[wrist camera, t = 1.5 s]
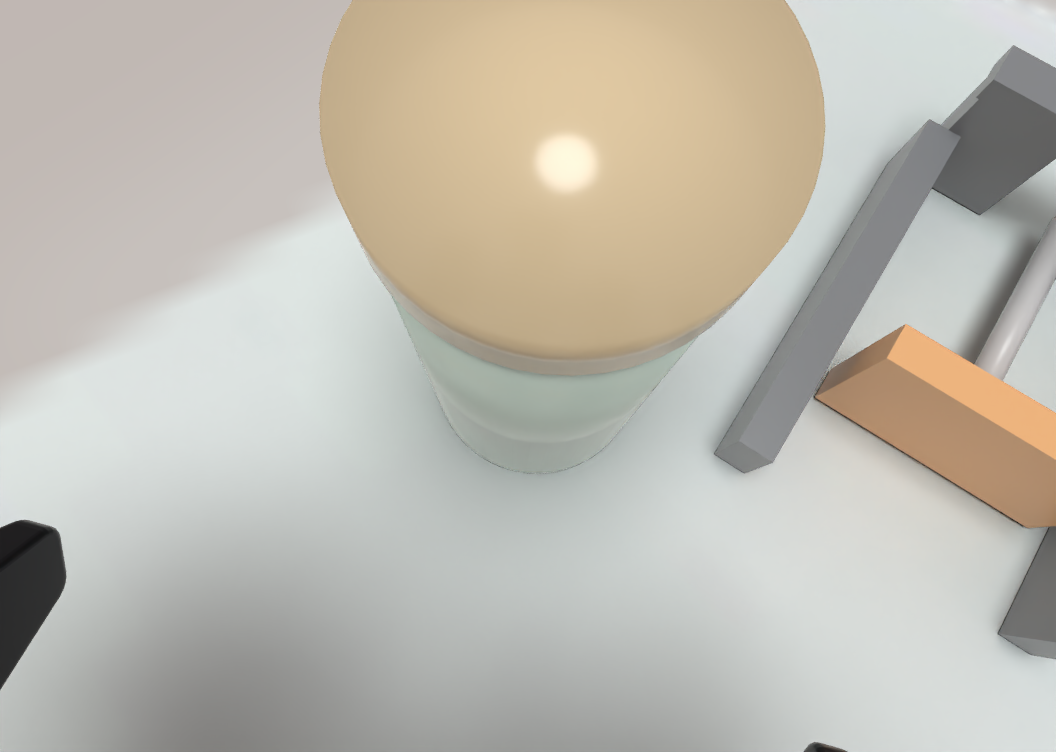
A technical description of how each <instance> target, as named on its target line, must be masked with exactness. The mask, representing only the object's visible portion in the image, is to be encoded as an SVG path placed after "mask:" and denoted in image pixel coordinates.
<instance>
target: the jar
mask: <svg viewBox="0 0 1056 752" xmlns="http://www.w3.org/2000/svg"><path fill="white" fill-rule="evenodd" d="M320 94H321V95H320V102H319V106H320V107H319V108H320V134H321V140H322V145H323V151H324V156H325V162H326V165H327V168H328V171H329V174H330V177H331V180H332V183H333V186H334V189H335V192H336V194H337V196H338V199H339V201H340V203H341V205H342V207H343V209H344V211H345V213H346V215H347V218H348V220H349V222H350V224H351V226H352V228H353V230H354V232H355V234H356V236H357V239H358V241H359V243H360V245H361V247H362V249H363V251H364V253H365V255H366V257H367V259H368V261H369V263H370V265H371V266H372V268H373V270H374V271H375V273H376V274H377V276H378V277H379V279H380V280H381V281H382V283H383V284H384V286H385V287H386V289H387V290H388V291H389V293H390V294H391V295H392V298H393V300H394V302H395V304H396V307H397V309H398V311H399V313H400V316H401V318H402V320H403V322H404V324H405V327H406V329H407V331H408V333H409V336H410V338H411V340H412V342H413V344H414V347H415V349H416V351H417V353H418V356H419V358H420V360H421V362H422V365H423V367H424V369H425V371H426V373H427V376H428V378H429V380H430V382H431V385H432V387H433V389H434V391H435V393H436V396H437V398H438V400H439V402H440V405H441V407H442V409H443V411H444V413H445V415H446V417H447V419H448V421H449V423H450V425H451V427H452V428H453V430H454V431H455V432H456V434H457V435H458V437H459V438H460V439H461V440H462V441H463V442H464V443H465V444H466V445H467V446H468V447H469V448H470V449H471V450H473V451H474V452H475V453H476V454H478V455H479V456H481V457H482V458H484V459H485V460H487V461H489V462H491V463H493V464H495V465H497V466H499V467H502V468H506V469H509V470H512V471H517V472H523V473H536V474H541V473H552V472H557V471H561V470H566V469H569V468H571V467H574V466H577V465H579V464H581V463H583V462H585V461H587V460H589V459H590V458H592V457H593V456H594V455H596V454H597V453H599V452H600V451H601V450H602V449H603V448H604V447H606V446H607V445H608V444H609V443H610V442H611V441H612V439H613V438H614V437H615V436H616V435H617V433H618V432H619V431H620V430H621V428H622V427H623V426H624V425H625V424H626V422H627V421H628V420H629V419H630V418H631V416H632V415H633V414H634V413H635V412H636V410H637V409H638V408H639V407H640V406H641V404H642V403H643V402H644V401H645V400H646V398H647V397H648V396H649V395H650V394H651V392H652V391H653V390H654V389H655V388H656V386H657V385H658V384H659V383H660V381H661V380H662V379H663V378H664V377H665V375H666V374H667V373H668V372H669V371H670V369H671V368H672V367H673V366H674V365H675V363H676V362H677V361H678V360H679V359H680V357H681V356H682V355H683V354H684V353H685V351H686V350H687V349H688V348H689V347H690V345H691V344H692V343H693V342H694V340H695V339H696V338H697V337H698V336H699V335H700V334H702V333H703V332H704V331H706V330H707V329H709V328H710V327H711V326H712V325H714V324H715V323H716V322H717V321H718V320H719V319H720V318H721V317H722V316H723V315H724V314H725V313H726V312H728V311H729V310H730V309H731V308H732V307H733V306H734V304H735V303H736V302H737V301H738V300H739V299H740V297H741V296H742V295H743V294H744V293H745V292H746V291H747V289H748V288H749V287H750V286H751V285H752V284H753V283H754V281H755V280H756V279H757V278H758V277H759V276H760V274H761V273H762V272H763V271H764V270H765V269H766V268H767V266H768V265H769V264H770V263H771V261H772V260H773V259H774V258H775V257H776V255H777V254H778V253H779V252H780V250H781V249H782V248H783V247H784V246H785V244H786V243H787V242H788V240H789V238H790V237H791V235H792V233H793V232H794V230H795V228H796V227H797V225H798V223H799V222H800V220H801V218H802V217H803V215H804V213H805V210H806V208H807V205H808V203H809V200H810V198H811V196H812V193H813V191H814V188H815V185H816V181H817V177H818V173H819V169H820V165H821V161H822V156H823V146H824V136H825V114H824V97H823V92H822V87H821V82H820V77H819V72H818V68H817V65H816V62H815V59H814V56H813V53H812V51H811V48H810V45H809V42H808V40H807V38H806V36H805V34H804V32H803V30H802V28H801V26H800V24H799V22H798V20H797V18H796V16H795V14H794V13H793V11H792V10H791V9H790V7H789V6H788V4H787V3H786V1H785V0H353V1H352V2H351V4H350V6H349V8H348V9H347V11H346V12H345V14H344V15H343V17H342V19H341V22H340V24H339V26H338V28H337V31H336V33H335V36H334V38H333V40H332V42H331V45H330V49H329V52H328V56H327V60H326V63H325V67H324V71H323V76H322V85H321V93H320Z"/></svg>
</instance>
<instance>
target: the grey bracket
mask: <svg viewBox="0 0 1056 752" xmlns="http://www.w3.org/2000/svg"><path fill="white" fill-rule="evenodd" d="M1055 159H1056V68H1055V67H1053V66H1051V65H1049V64H1047V63H1045V62H1044V61H1042V60H1040V59H1038V58H1036V57H1034V56H1033V55H1031V54H1029V53H1027V52H1025V51H1023V50H1021V49H1020V48H1018V47H1016V46H1014V45H1013V46H1012V47H1011V48H1010V49H1009V50H1008V51H1007V52H1006V53H1005V54H1004V55H1003V57H1002V58H1001V59H1000V60H999V61H998V62H997V63H996V64H995V65H994V67H993V68H992V70H991V72H990V74H989V75H988V77H987V78H986V79H985V80H984V81H983V82H982V83H981V84H980V85H979V86H978V87H977V88H976V89H975V90H974V91H973V92H972V93H971V94H970V95H969V97H968V98H967V99H966V100H965V101H964V102H963V103H962V104H961V105H960V106H959V107H958V108H957V109H956V110H955V111H954V112H953V113H952V114H951V115H950V116H949V117H948V118H947V119H946V120H945V121H944V122H943V123H942V124H941V125H939V124H937V123H935V122H934V121H932V120H930V119H929V120H928V121H927V122H926V123H925V124H924V125H923V126H922V128H921V129H920V130H919V131H918V132H917V133H916V134H915V135H914V136H913V137H912V138H911V139H910V140H909V141H908V142H907V143H906V144H905V146H904V147H903V148H902V149H901V150H900V151H899V152H898V153H897V154H896V155H895V156H894V157H893V158H892V159H891V160H890V161H889V162H888V164H887V166H886V167H885V169H884V171H883V172H882V174H881V176H880V177H879V179H878V181H877V182H876V184H875V186H874V187H873V189H872V191H871V192H870V194H869V196H868V197H867V199H866V201H865V202H864V204H863V206H862V208H861V209H860V211H859V213H858V214H857V216H856V218H855V219H854V221H853V223H852V224H851V226H850V228H849V229H848V231H847V233H846V234H845V236H844V238H843V239H842V241H841V243H840V244H839V246H838V248H837V249H836V251H835V253H834V254H833V256H832V258H831V259H830V261H829V263H828V264H827V266H826V268H825V269H824V271H823V273H822V274H821V276H820V278H819V279H818V281H817V283H816V284H815V286H814V288H813V289H812V291H811V293H810V294H809V296H808V298H807V300H806V301H805V303H804V305H803V306H802V308H801V310H800V311H799V313H798V315H797V316H796V318H795V320H794V321H793V323H792V325H791V326H790V328H789V330H788V331H787V333H786V335H785V336H784V338H783V340H782V341H781V343H780V345H779V346H778V348H777V350H776V351H775V353H774V355H773V356H772V358H771V360H770V361H769V363H768V365H767V366H766V368H765V370H764V371H763V373H762V375H761V376H760V378H759V380H758V381H757V383H756V385H755V386H754V388H753V390H752V392H751V393H750V395H749V397H748V398H747V400H746V402H745V403H744V405H743V407H742V408H741V410H740V412H739V413H738V415H737V417H736V418H735V420H734V422H733V423H732V425H731V427H730V428H729V430H728V432H727V433H726V435H725V437H724V438H723V440H722V442H721V443H720V445H719V447H718V448H717V450H716V452H715V453H714V454H715V455H716V456H718V457H719V458H721V459H723V460H724V461H726V462H727V463H729V464H730V465H732V466H734V467H735V468H737V469H738V470H740V471H742V472H743V473H747V472H749V471H752V470H754V469H757V468H760V467H762V466H765V465H768V464H770V463H773V461H774V460H775V458H776V456H777V454H778V453H779V451H780V449H781V447H782V446H783V444H784V442H785V441H786V439H787V437H788V435H789V434H790V432H791V430H792V428H793V427H794V425H795V423H796V422H797V420H798V418H799V416H800V415H801V413H802V411H803V409H804V408H805V406H806V404H807V403H808V401H809V399H810V397H811V396H812V394H813V392H814V390H815V389H816V387H817V385H818V383H819V382H820V380H821V378H822V377H823V375H824V373H825V371H826V370H827V368H828V366H829V364H830V363H831V361H832V359H833V358H834V356H835V354H836V352H837V351H838V349H839V347H840V345H841V344H842V342H843V340H844V339H845V337H846V335H847V333H848V332H849V330H850V328H851V326H852V325H853V323H854V321H855V319H856V318H857V316H858V314H859V313H860V311H861V309H862V307H863V306H864V304H865V302H866V300H867V299H868V297H869V295H870V294H871V292H872V290H873V288H874V287H875V285H876V283H877V281H878V280H879V278H880V276H881V275H882V273H883V271H884V269H885V268H886V266H887V264H888V262H889V261H890V259H891V257H892V255H893V254H894V252H895V250H896V249H897V247H898V245H899V243H900V242H901V240H902V238H903V236H904V235H905V233H906V231H907V230H908V228H909V226H910V224H911V223H912V221H913V219H914V217H915V216H916V214H917V212H918V210H919V209H920V207H921V205H922V204H923V202H924V200H925V198H926V197H927V195H928V193H929V191H930V190H931V188H934V189H935V190H937V191H939V192H941V193H942V194H944V195H946V196H948V197H949V198H951V199H953V200H955V201H956V202H958V203H960V204H962V205H963V206H965V207H967V208H969V209H970V210H972V211H974V212H976V213H977V214H979V215H981V214H982V213H983V212H985V211H986V210H987V209H989V208H990V207H991V206H993V205H994V204H995V203H997V202H998V201H999V200H1001V199H1002V198H1003V197H1005V196H1006V195H1008V194H1009V193H1010V192H1012V191H1013V190H1014V189H1016V188H1017V187H1018V186H1020V185H1021V184H1022V183H1024V182H1025V181H1026V180H1028V179H1029V178H1030V177H1032V176H1033V175H1034V174H1036V173H1037V172H1039V171H1040V170H1041V169H1043V168H1044V167H1045V166H1047V165H1048V164H1049V163H1051V162H1052V161H1053V160H1055ZM998 634H999V635H1001V636H1002V637H1004V638H1005V639H1007V640H1008V641H1010V642H1012V643H1013V644H1015V645H1016V646H1018V647H1020V648H1021V649H1023V650H1024V651H1026V652H1027V653H1029V654H1031V655H1034V656H1040V657H1046V658H1051V659H1056V526H1051V527H1050V528H1049V530H1048V532H1047V534H1046V536H1045V538H1044V540H1043V542H1042V544H1041V546H1040V548H1039V550H1038V552H1037V555H1036V557H1035V559H1034V561H1033V563H1032V565H1031V567H1030V569H1029V571H1028V573H1027V575H1026V577H1025V579H1024V581H1023V584H1022V586H1021V588H1020V590H1019V592H1018V594H1017V596H1016V598H1015V600H1014V602H1013V604H1012V606H1011V608H1010V610H1009V613H1008V615H1007V617H1006V619H1005V621H1004V623H1003V625H1002V627H1001V629H1000V631H999V633H998Z"/></svg>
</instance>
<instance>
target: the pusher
mask: <svg viewBox="0 0 1056 752" xmlns="http://www.w3.org/2000/svg"><path fill="white" fill-rule="evenodd" d="M1055 279H1056V217H1054V218H1052V219H1051V221H1050V223H1049V225H1048V227H1047V229H1046V230H1045V232H1044V234H1043V236H1042V238H1041V240H1040V242H1039V244H1038V245H1037V247H1036V249H1035V251H1034V253H1033V255H1032V257H1031V259H1030V260H1029V262H1028V264H1027V266H1026V268H1025V270H1024V272H1023V274H1022V276H1021V277H1020V279H1019V281H1018V283H1017V285H1016V287H1015V289H1014V291H1013V292H1012V294H1011V296H1010V298H1009V300H1008V302H1007V304H1006V306H1005V308H1004V309H1003V311H1002V313H1001V315H1000V317H999V319H998V321H997V323H996V324H995V326H994V328H993V330H992V332H991V334H990V336H989V338H988V339H987V341H986V343H985V345H984V347H983V349H982V351H981V353H980V355H979V356H978V358H977V360H976V362H975V364H972V363H971V362H969V361H967V360H966V359H964V358H962V357H961V356H959V355H957V354H956V353H954V352H952V351H951V350H949V349H947V348H946V347H944V346H942V345H941V344H939V343H937V342H935V341H934V340H932V339H930V338H929V337H927V336H925V335H924V334H922V333H920V332H919V331H917V330H915V329H914V328H912V327H910V326H909V325H907V324H905V325H903V326H902V327H900V328H898V329H897V330H895V331H893V332H892V333H890V334H888V335H887V336H885V337H884V338H882V339H880V340H879V341H877V342H875V343H874V344H872V345H870V346H869V347H867V348H865V349H864V350H862V351H860V352H859V353H857V354H855V355H854V356H852V357H850V358H849V359H847V360H845V361H844V362H842V363H840V364H839V365H837V366H835V367H834V368H832V369H831V370H830V372H829V373H828V375H827V377H826V379H825V380H824V382H823V384H822V385H821V387H820V389H819V391H818V392H817V394H816V396H815V398H817V399H818V400H820V401H821V402H823V403H825V404H826V405H828V406H830V407H831V408H833V409H834V410H836V411H838V412H839V413H841V414H843V415H844V416H846V417H848V418H849V419H851V420H852V421H854V422H856V423H857V424H859V425H861V426H862V427H864V428H865V429H867V430H869V431H870V432H872V433H874V434H875V435H877V436H878V437H880V438H882V439H883V440H885V441H887V442H888V443H890V444H891V445H893V446H895V447H896V448H898V449H900V450H901V451H903V452H904V453H906V454H908V455H909V456H911V457H913V458H914V459H916V460H918V461H919V462H921V463H922V464H924V465H926V466H927V467H929V468H931V469H932V470H934V471H935V472H937V473H939V474H940V475H942V476H944V477H945V478H947V479H948V480H950V481H952V482H953V483H955V484H957V485H958V486H960V487H961V488H963V489H965V490H966V491H968V492H970V493H971V494H973V495H975V496H976V497H978V498H979V499H981V500H983V501H984V502H986V503H988V504H989V505H991V506H992V507H994V508H996V509H997V510H999V511H1001V512H1002V513H1004V514H1005V515H1007V516H1009V517H1010V518H1012V519H1014V520H1015V521H1017V522H1018V523H1020V524H1022V525H1023V526H1025V527H1027V528H1036V527H1051V526H1056V413H1055V412H1053V411H1052V410H1050V409H1048V408H1047V407H1045V406H1043V405H1042V404H1040V403H1038V402H1036V401H1035V400H1033V399H1031V398H1030V397H1028V396H1026V395H1025V394H1023V393H1021V392H1020V391H1018V390H1016V389H1015V388H1013V387H1011V386H1010V385H1008V384H1006V383H1004V382H1003V379H1004V377H1005V375H1006V373H1007V371H1008V369H1009V367H1010V366H1011V364H1012V362H1013V360H1014V358H1015V356H1016V354H1017V352H1018V350H1019V348H1020V346H1021V344H1022V342H1023V341H1024V339H1025V337H1026V335H1027V333H1028V331H1029V329H1030V327H1031V325H1032V323H1033V321H1034V319H1035V317H1036V316H1037V314H1038V312H1039V310H1040V308H1041V306H1042V304H1043V302H1044V300H1045V298H1046V296H1047V294H1048V292H1049V291H1050V289H1051V287H1052V285H1053V283H1054V281H1055Z"/></svg>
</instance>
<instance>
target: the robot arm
mask: <svg viewBox="0 0 1056 752" xmlns="http://www.w3.org/2000/svg"><path fill="white" fill-rule="evenodd" d="M65 583H66V568H65V562H64V556H63V550H62V544H61V538H60V534H59V532H58V531H57V530H56V529H55V528H53V527H51V526H47V525H44V524H40V523H37V522H33V521H29V520H20V521H15V522H13V523H10V524H8V525H5V526H3V527H1V528H0V690H1V688H2V686H3V685H4V683H5V682H6V680H7V679H8V677H9V675H10V674H11V672H12V671H13V669H14V668H15V666H16V664H17V663H18V661H19V660H20V658H21V657H22V655H23V653H24V652H25V650H26V649H27V647H28V646H29V644H30V643H31V641H32V639H33V638H34V636H35V635H36V633H37V632H38V630H39V628H40V627H41V625H42V624H43V622H44V621H45V619H46V617H47V616H48V614H49V613H50V611H51V610H52V608H53V606H54V605H55V603H56V602H57V600H58V599H59V597H60V595H61V593H62V591H63V589H64V586H65ZM804 752H847V751H845V750H843V749H840V748H836V747H833V746H829V745H826V744H822V743H818V742H814V743H812V744H810V745H808V747H807V748H806V749H805V751H804Z"/></svg>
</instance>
